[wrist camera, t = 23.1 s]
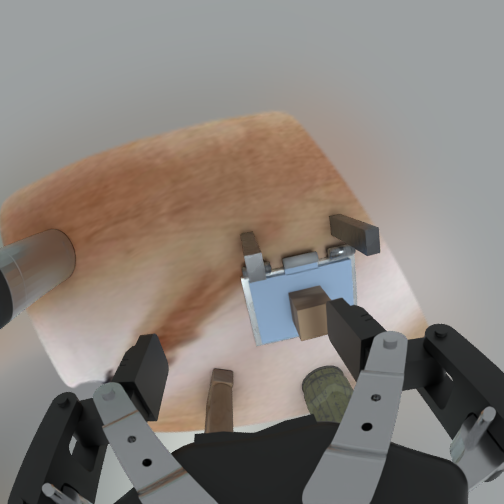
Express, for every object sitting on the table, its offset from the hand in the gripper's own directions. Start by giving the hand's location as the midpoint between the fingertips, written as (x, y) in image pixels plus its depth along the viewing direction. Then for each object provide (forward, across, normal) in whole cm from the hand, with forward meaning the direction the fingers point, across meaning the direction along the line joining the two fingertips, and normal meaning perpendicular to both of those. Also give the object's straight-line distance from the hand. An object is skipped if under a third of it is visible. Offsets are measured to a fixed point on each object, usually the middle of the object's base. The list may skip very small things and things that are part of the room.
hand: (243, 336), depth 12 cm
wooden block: (+29, +8, +29) cm, 42 cm away
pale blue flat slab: (+27, -9, +12) cm, 31 cm away
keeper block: (+26, -9, +13) cm, 31 cm away
